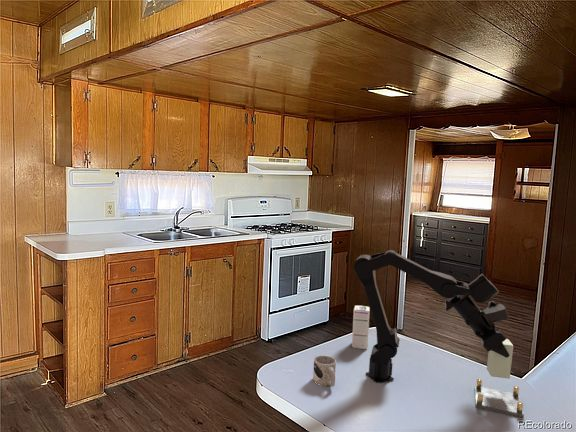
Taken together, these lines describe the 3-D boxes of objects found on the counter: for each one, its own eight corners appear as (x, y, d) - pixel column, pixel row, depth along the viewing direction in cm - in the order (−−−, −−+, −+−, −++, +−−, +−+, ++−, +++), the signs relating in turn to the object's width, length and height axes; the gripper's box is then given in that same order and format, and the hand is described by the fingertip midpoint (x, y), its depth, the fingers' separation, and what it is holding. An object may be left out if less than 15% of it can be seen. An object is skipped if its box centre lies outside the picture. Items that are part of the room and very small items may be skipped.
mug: (309, 377, 139) (310, 356, 138) (329, 374, 141) (330, 354, 141) (322, 392, 130) (324, 370, 129) (343, 389, 132) (344, 368, 131)
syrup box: (367, 349, 162) (370, 310, 161) (351, 347, 164) (353, 309, 162) (368, 343, 168) (370, 306, 167) (352, 341, 169) (354, 304, 168)
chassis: (523, 417, 121) (524, 405, 120) (475, 407, 125) (476, 395, 125) (518, 397, 132) (519, 386, 132) (474, 388, 136) (475, 377, 136)
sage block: (491, 376, 130) (494, 343, 129) (486, 369, 135) (490, 337, 134) (509, 378, 129) (513, 345, 128) (504, 371, 134) (508, 339, 133)
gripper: (501, 304, 121) (540, 349, 120) (484, 287, 139) (518, 325, 138) (468, 329, 123) (506, 373, 122) (455, 309, 141) (488, 347, 141)
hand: (505, 352), depth 131 cm, fingers closed on sage block, 5 cm apart
